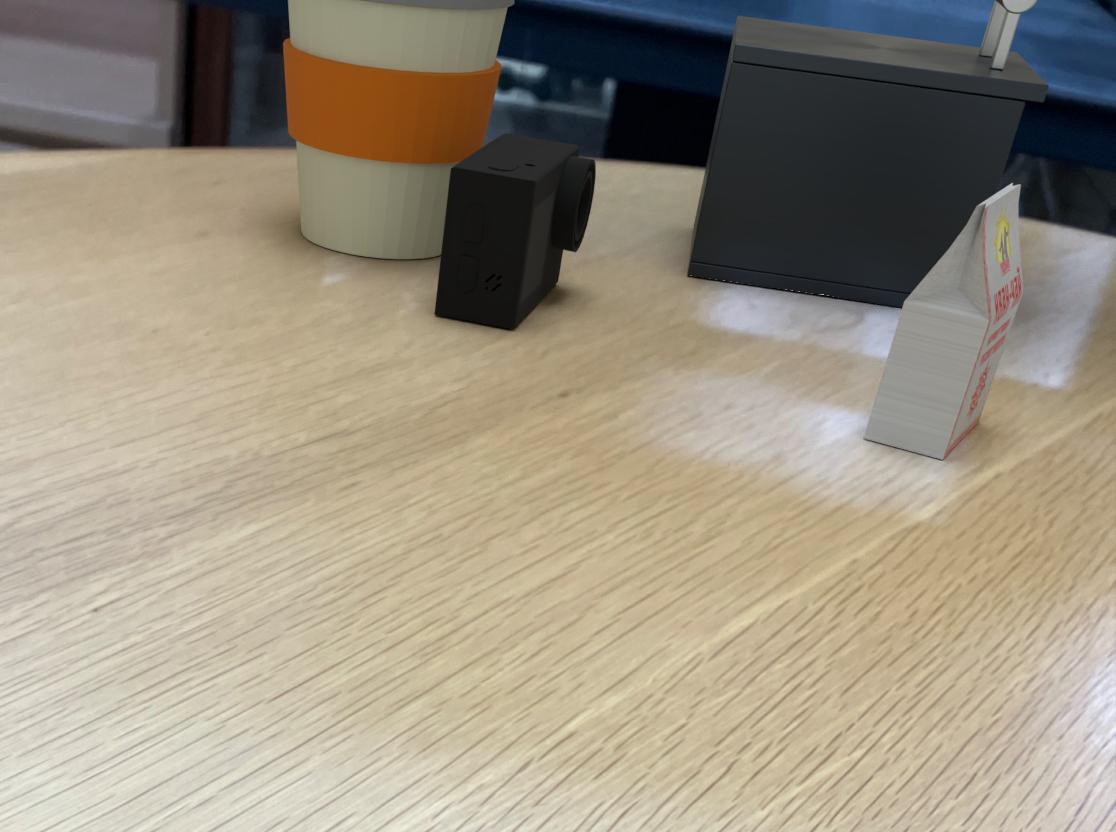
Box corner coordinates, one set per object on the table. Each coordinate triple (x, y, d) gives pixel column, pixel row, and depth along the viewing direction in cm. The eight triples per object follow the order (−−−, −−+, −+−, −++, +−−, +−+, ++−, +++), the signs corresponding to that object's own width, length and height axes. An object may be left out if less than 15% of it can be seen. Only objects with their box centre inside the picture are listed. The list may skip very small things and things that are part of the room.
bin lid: (1012, 67, 90) (1046, -42, 86) (1043, 102, 80) (1083, -20, 77) (734, 31, 91) (756, -79, 88) (731, 61, 82) (757, -61, 78)
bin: (937, 262, 97) (996, 66, 90) (957, 316, 87) (1025, 101, 80) (693, 227, 98) (733, 32, 91) (686, 276, 89) (731, 62, 82)
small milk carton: (863, 438, 69) (935, 197, 63) (903, 402, 74) (974, 174, 68) (942, 459, 68) (1024, 215, 62) (978, 421, 73) (1057, 191, 66)
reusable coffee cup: (423, 208, 96) (452, -82, 86) (522, 264, 87) (566, -50, 78) (237, 211, 91) (247, -95, 81) (323, 271, 83) (345, -63, 73)
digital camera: (535, 336, 77) (559, 183, 73) (433, 316, 78) (450, 164, 74) (578, 287, 85) (602, 146, 80) (485, 270, 86) (504, 130, 81)
